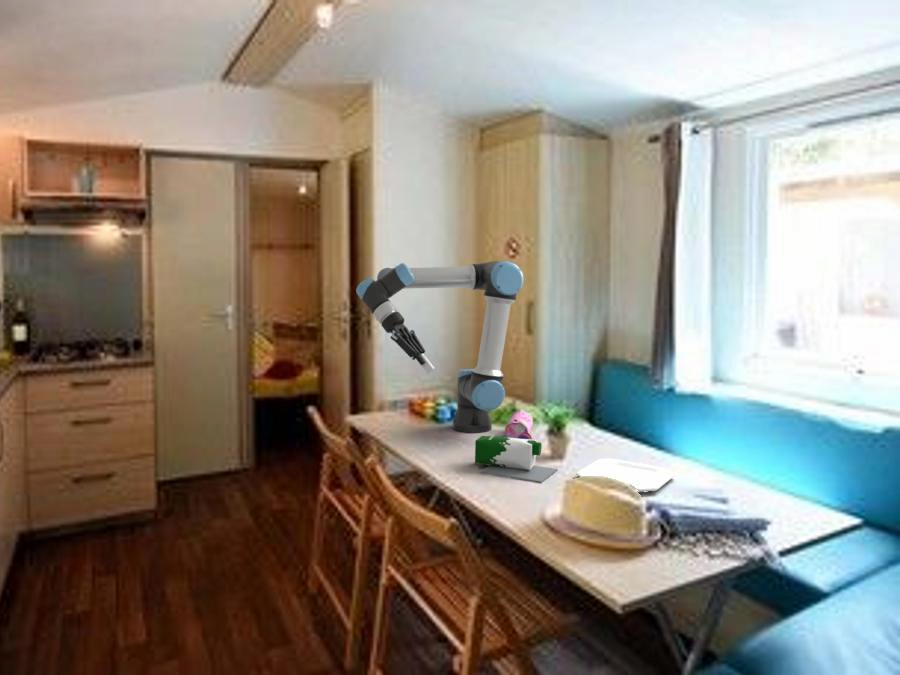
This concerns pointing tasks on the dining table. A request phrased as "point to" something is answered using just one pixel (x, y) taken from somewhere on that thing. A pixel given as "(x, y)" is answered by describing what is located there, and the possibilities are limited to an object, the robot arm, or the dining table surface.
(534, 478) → the topple mat
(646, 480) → the plate
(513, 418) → the pencil case
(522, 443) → the fresh milk carton
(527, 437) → the rainbow cloud toy
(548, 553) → the dining table surface
